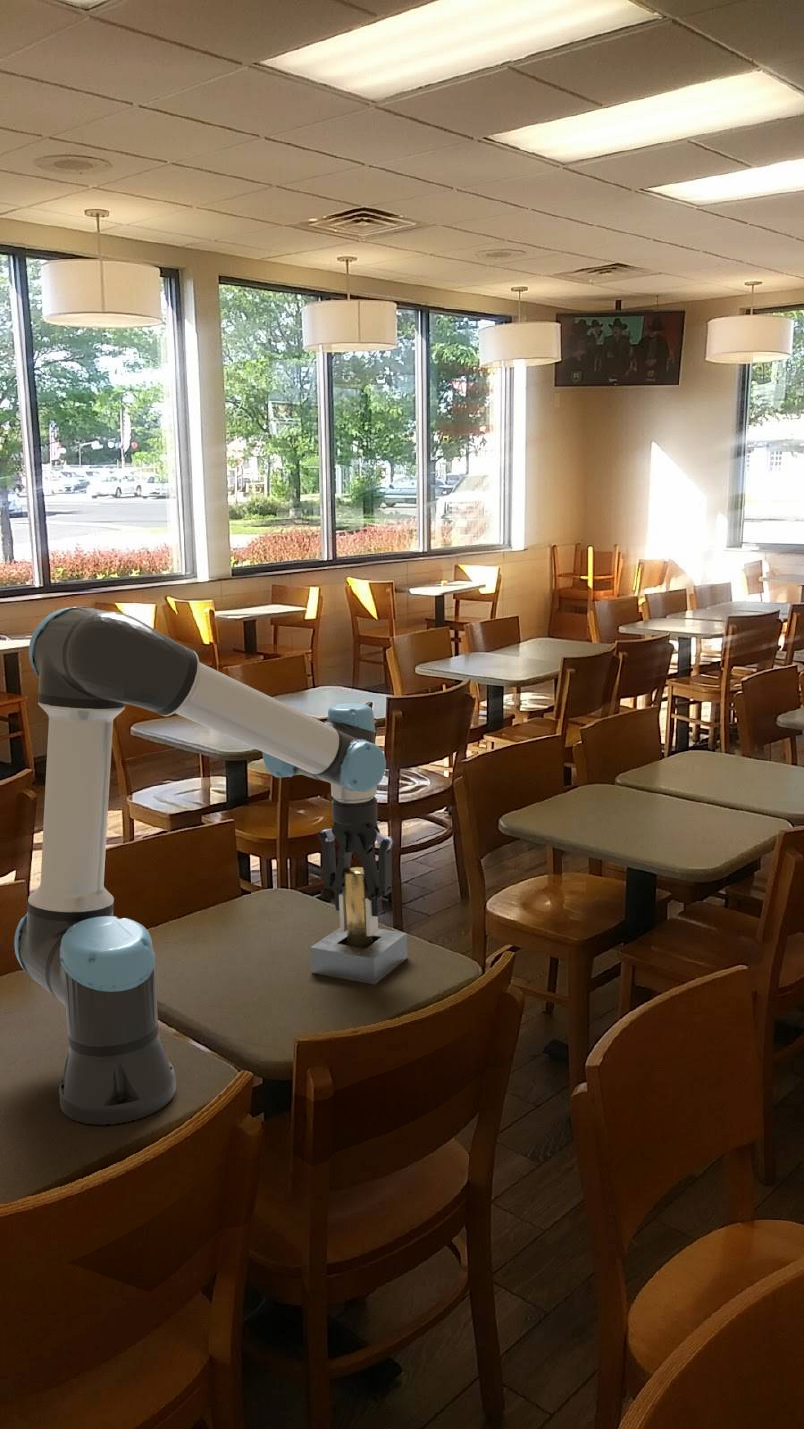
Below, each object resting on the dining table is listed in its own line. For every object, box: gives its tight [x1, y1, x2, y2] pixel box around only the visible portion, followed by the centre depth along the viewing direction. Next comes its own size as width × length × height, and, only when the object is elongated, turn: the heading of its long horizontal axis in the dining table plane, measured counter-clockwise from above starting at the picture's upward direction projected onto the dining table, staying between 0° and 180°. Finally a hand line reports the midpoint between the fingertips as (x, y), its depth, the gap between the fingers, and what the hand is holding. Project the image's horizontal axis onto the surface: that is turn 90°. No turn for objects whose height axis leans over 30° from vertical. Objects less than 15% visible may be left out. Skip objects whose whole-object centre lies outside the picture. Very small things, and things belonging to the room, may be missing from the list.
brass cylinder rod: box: [344, 866, 373, 949], centre depth 193 cm, size 4×4×14 cm
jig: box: [310, 927, 408, 985], centre depth 194 cm, size 12×12×4 cm
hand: (359, 930), depth 193 cm, fingers closed on brass cylinder rod, 4 cm apart
